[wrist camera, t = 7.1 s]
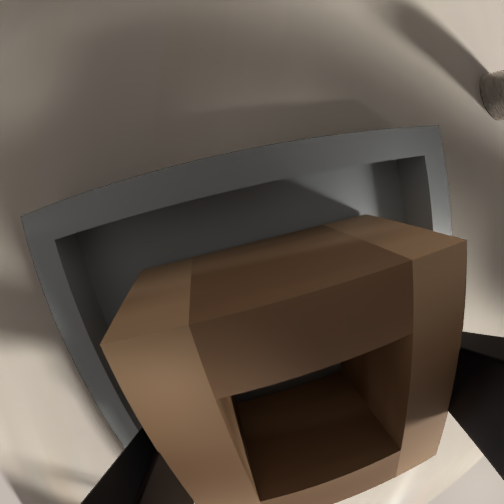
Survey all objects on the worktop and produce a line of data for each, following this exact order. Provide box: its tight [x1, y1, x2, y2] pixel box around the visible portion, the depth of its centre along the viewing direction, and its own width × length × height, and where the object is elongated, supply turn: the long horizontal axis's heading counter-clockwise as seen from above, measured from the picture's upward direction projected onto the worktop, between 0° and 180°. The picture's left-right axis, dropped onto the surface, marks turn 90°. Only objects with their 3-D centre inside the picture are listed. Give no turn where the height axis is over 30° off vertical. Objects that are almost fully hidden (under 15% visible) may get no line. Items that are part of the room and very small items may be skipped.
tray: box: [21, 126, 452, 448], centre depth 9 cm, size 11×11×2 cm
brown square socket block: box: [100, 214, 467, 504], centre depth 7 cm, size 6×6×4 cm
